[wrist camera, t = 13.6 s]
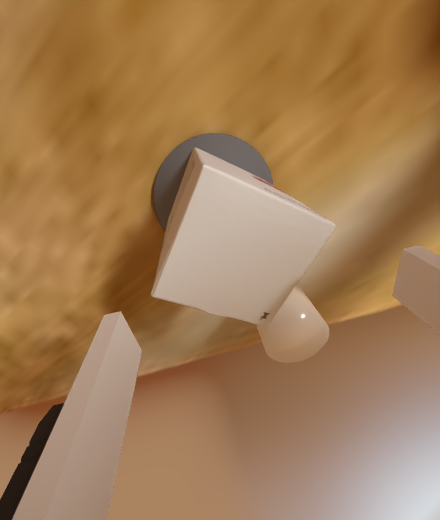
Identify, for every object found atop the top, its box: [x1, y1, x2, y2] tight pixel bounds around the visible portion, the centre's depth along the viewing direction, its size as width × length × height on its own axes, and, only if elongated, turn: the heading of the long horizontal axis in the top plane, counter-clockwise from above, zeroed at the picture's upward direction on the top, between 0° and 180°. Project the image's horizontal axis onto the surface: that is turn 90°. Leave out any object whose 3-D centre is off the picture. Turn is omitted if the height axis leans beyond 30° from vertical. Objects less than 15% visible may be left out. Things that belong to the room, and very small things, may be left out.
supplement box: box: [151, 148, 336, 327], centre depth 21 cm, size 9×9×15 cm
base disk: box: [153, 134, 273, 232], centre depth 28 cm, size 14×14×1 cm
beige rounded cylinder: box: [256, 284, 329, 363], centre depth 32 cm, size 8×8×9 cm
